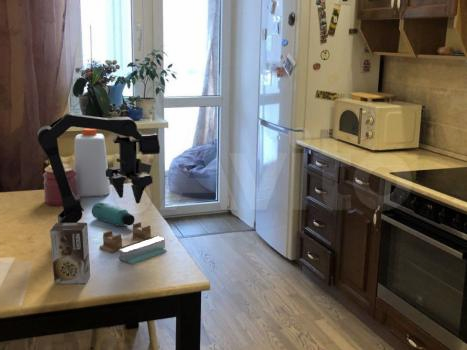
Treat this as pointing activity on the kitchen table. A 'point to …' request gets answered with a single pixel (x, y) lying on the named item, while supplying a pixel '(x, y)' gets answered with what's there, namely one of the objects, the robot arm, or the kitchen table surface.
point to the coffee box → (70, 253)
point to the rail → (141, 248)
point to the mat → (146, 256)
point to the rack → (116, 242)
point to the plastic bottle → (90, 164)
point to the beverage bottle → (112, 214)
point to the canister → (52, 188)
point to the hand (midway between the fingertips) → (129, 200)
